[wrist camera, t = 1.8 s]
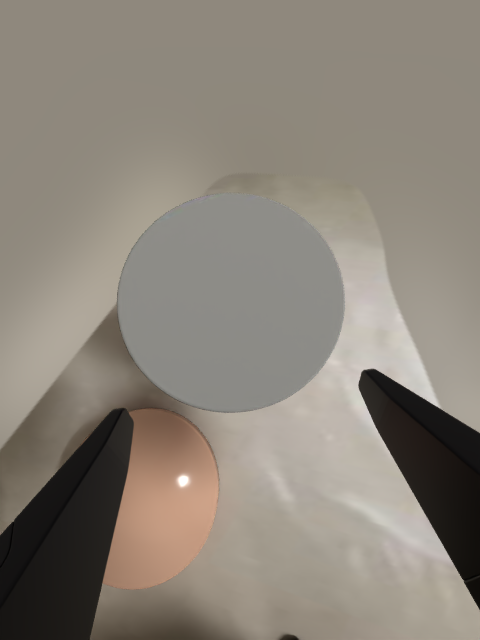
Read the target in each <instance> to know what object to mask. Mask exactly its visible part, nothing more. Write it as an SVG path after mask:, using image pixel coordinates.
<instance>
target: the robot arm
mask: <svg viewBox="0 0 480 640" xmlns="http://www.w3.org/2000/svg"><path fill="white" fill-rule="evenodd" d="M359 390H360V392H361V395H362V397H363V399H364V402H365V404H366V406H367V408H368V411H369V413H370V415H371V417H372V420H373V422H374V424H375V426H376V428H377V430H378V432H379V434H380V436H381V437H382V439H383V441H384V443H385V444H386V446H387V448H388V450H389V451H390V453H391V455H392V457H393V458H394V460H395V462H396V464H397V465H398V467H399V469H400V471H401V472H402V474H403V476H404V478H405V479H406V481H407V483H408V485H409V486H410V488H411V490H412V492H413V493H414V495H415V497H416V499H417V500H418V502H419V504H420V506H421V507H422V509H423V511H424V513H425V514H426V516H427V518H428V520H429V521H430V523H431V525H432V527H433V529H434V530H435V532H436V534H437V536H438V537H439V539H440V541H441V543H442V544H443V546H444V548H445V550H446V551H447V553H448V555H449V557H450V558H451V560H452V562H453V564H454V565H455V567H456V569H457V571H458V572H459V574H460V576H461V578H462V579H463V580H464V583H465V585H466V587H467V588H468V590H469V592H470V594H471V595H472V597H473V599H474V601H475V602H476V604H477V606H478V608H479V610H480V433H479V432H477V431H476V430H474V429H472V428H471V427H469V426H467V425H466V424H464V423H462V422H461V421H459V420H458V419H456V418H454V417H453V416H451V415H449V414H448V413H446V412H444V411H443V410H441V409H440V408H438V407H436V406H435V405H433V404H431V403H430V402H428V401H427V400H425V399H423V398H422V397H420V396H418V395H417V394H415V393H413V392H412V391H410V390H409V389H407V388H405V387H404V386H402V385H400V384H399V383H397V382H395V381H394V380H392V379H391V378H389V377H387V376H386V375H384V374H382V373H381V372H379V371H377V370H376V369H367V370H363V371H362V373H361V377H360V380H359ZM133 430H134V421H133V419H132V417H131V416H130V414H129V413H128V411H127V410H126V409H125V408H119V409H114V410H112V411H111V412H110V413H109V414H108V415H107V416H106V418H105V419H104V420H103V421H102V422H101V423H100V424H99V425H98V427H97V428H96V429H95V430H94V431H93V432H92V433H91V434H90V436H89V437H88V438H87V439H86V440H85V441H84V442H83V443H82V444H81V446H80V447H79V448H78V449H77V450H76V451H75V452H74V453H73V455H72V456H71V457H70V458H69V459H68V460H67V461H66V462H65V464H64V465H63V466H62V467H61V468H60V469H59V470H58V471H57V472H56V474H55V475H54V476H53V477H52V478H51V479H50V480H49V481H48V483H47V484H46V485H45V486H44V487H43V488H42V489H41V490H40V492H39V493H38V494H37V495H36V496H35V497H34V498H33V499H32V500H31V502H30V503H29V504H28V505H27V506H26V507H25V508H24V509H23V511H22V512H21V513H20V514H19V515H18V516H17V517H16V518H15V520H14V522H12V523H11V524H10V525H9V526H8V527H7V528H6V530H5V531H4V532H3V533H2V534H1V535H0V640H90V635H91V631H92V627H93V622H94V618H95V613H96V609H97V605H98V600H99V596H100V592H101V587H102V583H103V579H104V574H105V570H106V565H107V561H108V557H109V552H110V548H111V544H112V539H113V535H114V531H115V526H116V522H117V517H118V513H119V509H120V504H121V500H122V496H123V491H124V487H125V483H126V478H127V473H128V468H129V462H130V454H131V446H132V438H133Z"/></svg>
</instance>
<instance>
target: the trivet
mask: <svg viewBox="0 0 480 640" xmlns="http://www.w3.org/2000/svg"><path fill="white" fill-rule="evenodd" d="M128 413H129V414H130V416H131V417H132V419H133V421H134V430H133V438H132V446H131V454H130V462H129V468H128V473H127V478H126V483H125V487H124V491H123V496H122V500H121V504H120V509H119V513H118V517H117V522H116V526H115V531H114V535H113V539H112V544H111V548H110V552H109V557H108V561H107V565H106V570H105V574H104V579H103V583H104V584H106V585H109V586H112V587H116V588H121V589H143V588H149V587H152V586H155V585H159V584H161V583H163V582H165V581H167V580H169V579H171V578H172V577H174V576H175V575H177V574H178V573H180V572H181V571H182V570H183V569H184V568H185V567H187V566H188V565H189V564H190V563H191V561H192V560H193V559H194V558H195V557H196V556H197V554H198V553H199V551H200V550H201V548H202V547H203V545H204V543H205V541H206V539H207V537H208V535H209V533H210V530H211V528H212V525H213V522H214V518H215V514H216V509H217V503H218V496H219V473H218V467H217V462H216V459H215V456H214V453H213V450H212V448H211V446H210V444H209V442H208V441H207V439H206V438H205V436H204V435H203V433H202V432H201V431H200V430H199V429H198V428H197V427H196V426H195V425H194V424H193V423H192V422H190V421H189V420H188V419H186V418H185V417H183V416H181V415H179V414H177V413H175V412H172V411H169V410H165V409H159V408H143V409H137V410H133V411H130V412H128ZM89 436H90V435H89ZM89 436H88V437H89ZM88 437H87V438H88ZM87 438H86V439H87ZM86 439H85V440H86ZM85 440H84V441H85ZM84 441H83V442H84ZM80 446H81V445H80ZM80 446H79V447H80Z"/></svg>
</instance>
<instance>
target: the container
mask: <svg viewBox="0 0 480 640" xmlns="http://www.w3.org/2000/svg"><path fill="white" fill-rule="evenodd" d="M344 311H345V294H344V285H343V280H342V276H341V272H340V268H339V266H338V263H337V261H336V258H335V256H334V254H333V252H332V250H331V249H330V247H329V245H328V244H327V242H326V241H325V239H324V238H323V237H322V235H321V234H320V233H319V232H318V231H317V230H316V228H315V227H314V226H313V225H312V224H311V223H309V222H308V221H307V220H306V219H305V218H304V217H302V216H301V215H299V214H298V213H297V212H295V211H294V210H292V209H290V208H289V207H287V206H285V205H283V204H281V203H279V202H276V201H273V200H271V199H268V198H265V197H261V196H257V195H251V194H244V193H220V194H212V195H207V196H203V197H199V198H196V199H193V200H190V201H188V202H185V203H183V204H181V205H179V206H177V207H175V208H173V209H172V210H170V211H168V212H167V213H165V214H164V215H163V216H162V217H160V218H159V219H157V220H156V221H155V222H154V223H153V224H152V225H151V226H150V227H149V228H148V229H147V230H146V231H145V232H144V233H143V234H142V235H141V237H140V238H139V239H138V241H137V242H136V244H135V245H134V247H133V248H132V250H131V252H130V253H129V255H128V258H127V260H126V262H125V265H124V267H123V270H122V273H121V277H120V281H119V286H118V293H117V314H118V322H119V326H120V331H121V334H122V337H123V340H124V343H125V345H126V348H127V350H128V352H129V354H130V356H131V357H132V359H133V361H134V362H135V364H136V365H137V366H138V368H139V369H140V370H141V372H142V373H143V374H144V375H145V376H146V377H147V378H148V379H149V380H150V381H151V382H152V383H153V384H154V385H155V386H156V387H158V388H159V389H160V390H162V391H163V392H164V393H166V394H167V395H169V396H171V397H172V398H174V399H176V400H178V401H180V402H182V403H185V404H187V405H190V406H192V407H196V408H199V409H203V410H208V411H214V412H225V413H235V412H246V411H252V410H257V409H261V408H264V407H267V406H270V405H273V404H275V403H278V402H280V401H282V400H284V399H286V398H287V397H289V396H291V395H293V394H294V393H296V392H297V391H299V390H300V389H301V388H303V387H304V386H305V385H306V384H307V383H308V382H310V381H311V380H312V379H313V378H314V377H315V376H316V375H317V373H318V372H319V371H320V370H321V368H322V367H323V366H324V364H325V363H326V361H327V360H328V358H329V357H330V355H331V353H332V351H333V350H334V348H335V345H336V343H337V340H338V338H339V335H340V332H341V328H342V324H343V319H344Z"/></svg>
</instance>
